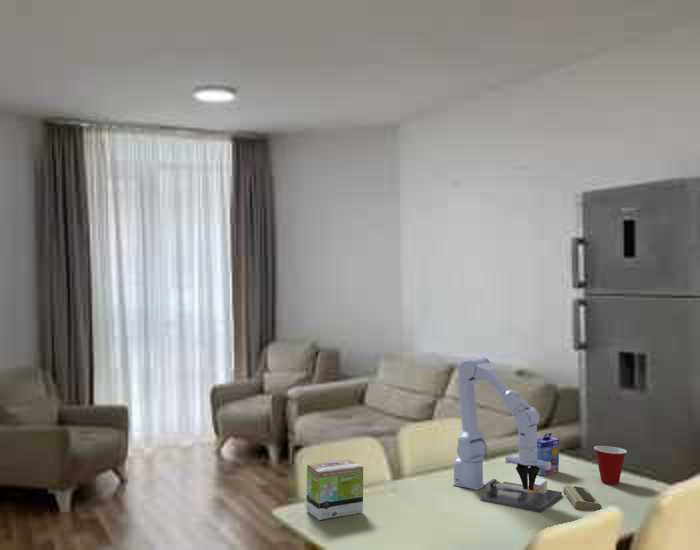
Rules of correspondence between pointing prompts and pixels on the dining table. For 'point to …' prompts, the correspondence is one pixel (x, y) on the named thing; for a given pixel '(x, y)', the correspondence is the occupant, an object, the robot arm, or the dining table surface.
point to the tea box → (334, 489)
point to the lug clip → (541, 485)
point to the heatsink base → (519, 497)
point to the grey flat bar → (513, 487)
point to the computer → (581, 497)
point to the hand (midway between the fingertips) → (528, 488)
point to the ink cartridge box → (548, 453)
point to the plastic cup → (610, 463)
